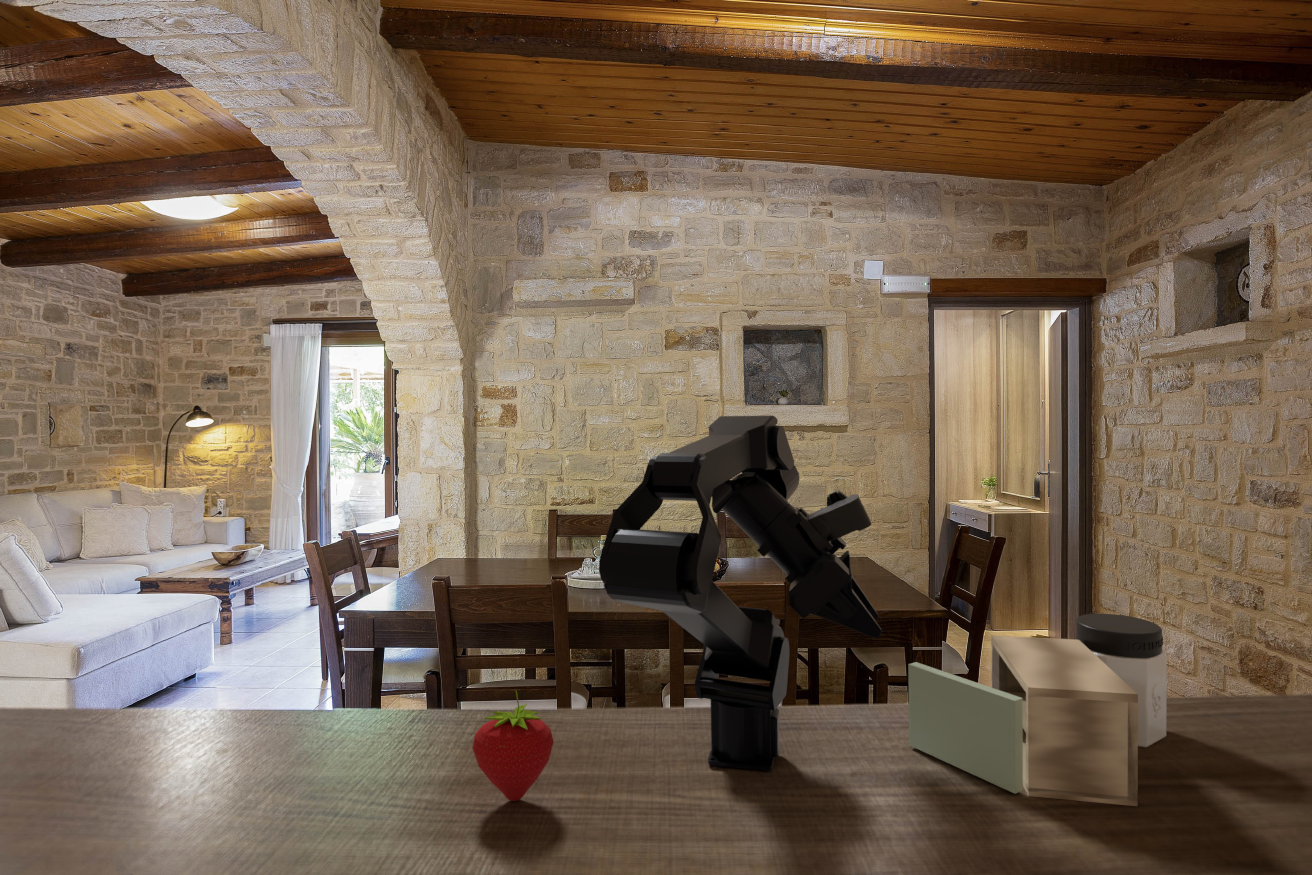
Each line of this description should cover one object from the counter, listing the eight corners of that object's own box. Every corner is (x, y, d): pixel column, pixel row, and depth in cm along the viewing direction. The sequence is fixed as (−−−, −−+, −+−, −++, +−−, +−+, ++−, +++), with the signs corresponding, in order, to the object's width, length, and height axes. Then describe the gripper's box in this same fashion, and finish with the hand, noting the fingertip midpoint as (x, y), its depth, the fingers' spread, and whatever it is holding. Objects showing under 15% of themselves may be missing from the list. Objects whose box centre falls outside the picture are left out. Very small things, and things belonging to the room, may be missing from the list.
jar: (1139, 754, 76) (1139, 639, 75) (1059, 727, 82) (1059, 621, 82) (1177, 732, 80) (1178, 624, 80) (1099, 708, 87) (1099, 608, 87)
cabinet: (1028, 795, 68) (1028, 687, 68) (991, 723, 84) (991, 635, 83) (1137, 806, 66) (1137, 694, 66) (1078, 730, 81) (1078, 639, 81)
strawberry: (482, 784, 72) (479, 683, 72) (558, 782, 72) (556, 682, 72) (466, 817, 66) (463, 707, 66) (550, 815, 66) (547, 706, 66)
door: (1015, 793, 68) (1014, 700, 68) (908, 744, 78) (908, 664, 78) (1022, 789, 68) (1022, 697, 68) (916, 742, 79) (915, 661, 78)
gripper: (823, 477, 69) (948, 597, 67) (824, 462, 87) (923, 557, 85) (740, 557, 71) (859, 677, 69) (759, 527, 89) (853, 621, 87)
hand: (877, 626), depth 78 cm, fingers open, 5 cm apart
